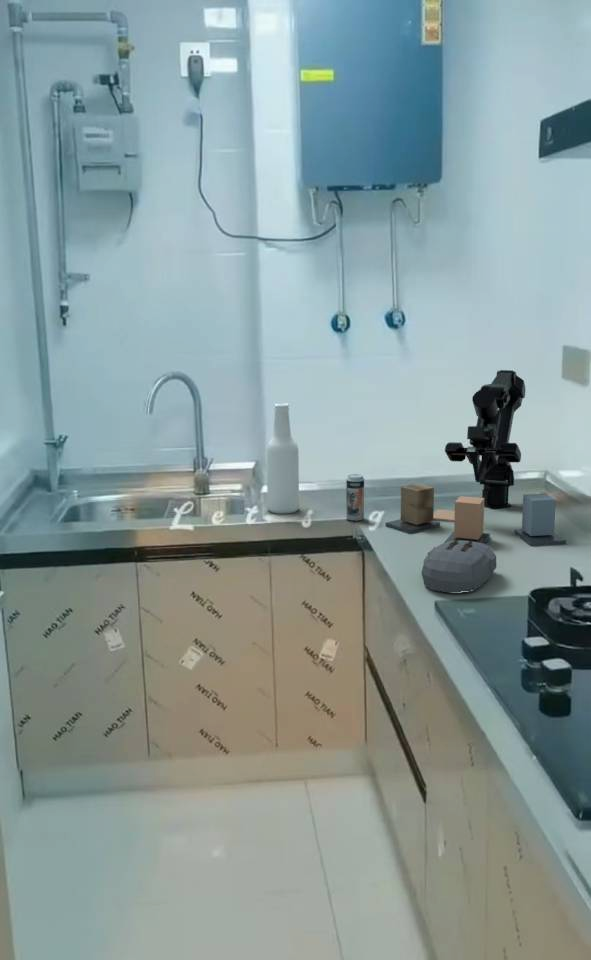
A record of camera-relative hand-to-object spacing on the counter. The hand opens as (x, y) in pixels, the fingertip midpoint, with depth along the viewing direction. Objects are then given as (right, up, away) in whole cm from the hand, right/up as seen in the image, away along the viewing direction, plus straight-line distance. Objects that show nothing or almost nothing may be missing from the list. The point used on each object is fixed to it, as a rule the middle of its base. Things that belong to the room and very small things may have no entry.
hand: (477, 481), depth 239 cm
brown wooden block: (-14, -10, +8) cm, 19 cm away
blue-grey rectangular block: (+14, -13, -4) cm, 19 cm away
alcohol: (-50, -8, +24) cm, 56 cm away
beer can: (-30, -10, +14) cm, 35 cm away
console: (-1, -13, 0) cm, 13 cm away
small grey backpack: (-11, -22, -34) cm, 42 cm away
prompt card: (-5, -10, +15) cm, 18 cm away
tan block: (-3, -13, -6) cm, 15 cm away
